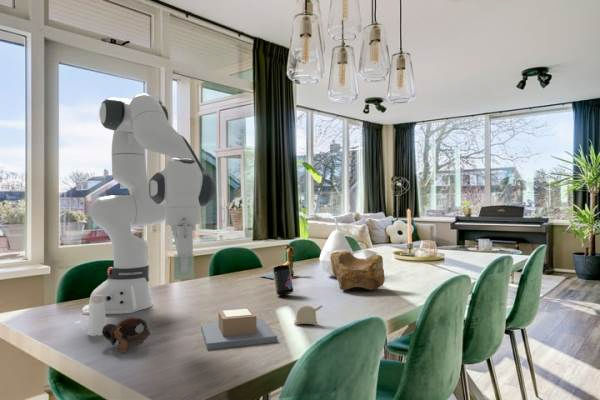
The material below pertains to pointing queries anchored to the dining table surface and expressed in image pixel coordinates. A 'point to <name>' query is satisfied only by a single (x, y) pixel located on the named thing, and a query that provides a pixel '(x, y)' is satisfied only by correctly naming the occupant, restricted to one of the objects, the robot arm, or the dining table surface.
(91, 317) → the pepper shaker
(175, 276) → the sage block
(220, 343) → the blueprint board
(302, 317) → the decorative ornament
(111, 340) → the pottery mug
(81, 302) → the dining table surface
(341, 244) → the pear ornament
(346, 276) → the rough brown rock
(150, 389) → the dining table surface
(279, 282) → the supplement container
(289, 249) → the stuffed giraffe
